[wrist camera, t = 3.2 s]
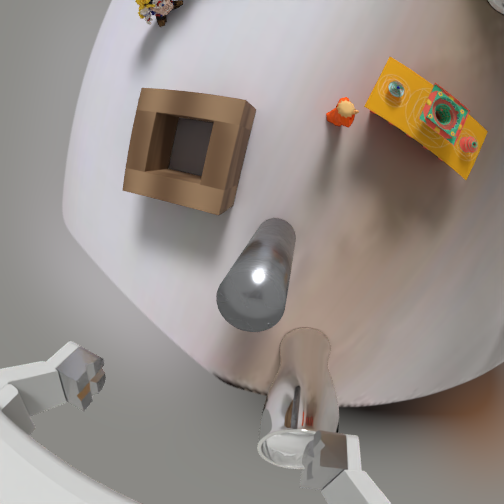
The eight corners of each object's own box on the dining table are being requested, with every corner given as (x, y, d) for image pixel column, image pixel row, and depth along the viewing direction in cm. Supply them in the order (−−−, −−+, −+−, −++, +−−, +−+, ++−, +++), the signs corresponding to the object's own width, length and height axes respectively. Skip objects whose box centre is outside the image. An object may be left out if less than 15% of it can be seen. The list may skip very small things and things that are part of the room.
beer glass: (304, 312, 32) (296, 416, 18) (346, 346, 32) (357, 449, 18) (264, 348, 34) (237, 448, 20) (305, 377, 35) (296, 476, 21)
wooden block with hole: (256, 109, 26) (245, 100, 21) (233, 205, 30) (218, 215, 25) (165, 96, 27) (141, 87, 22) (147, 184, 30) (122, 190, 26)
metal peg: (300, 224, 29) (293, 282, 16) (289, 260, 30) (274, 339, 17) (261, 213, 29) (223, 261, 16) (252, 250, 31) (211, 320, 18)
